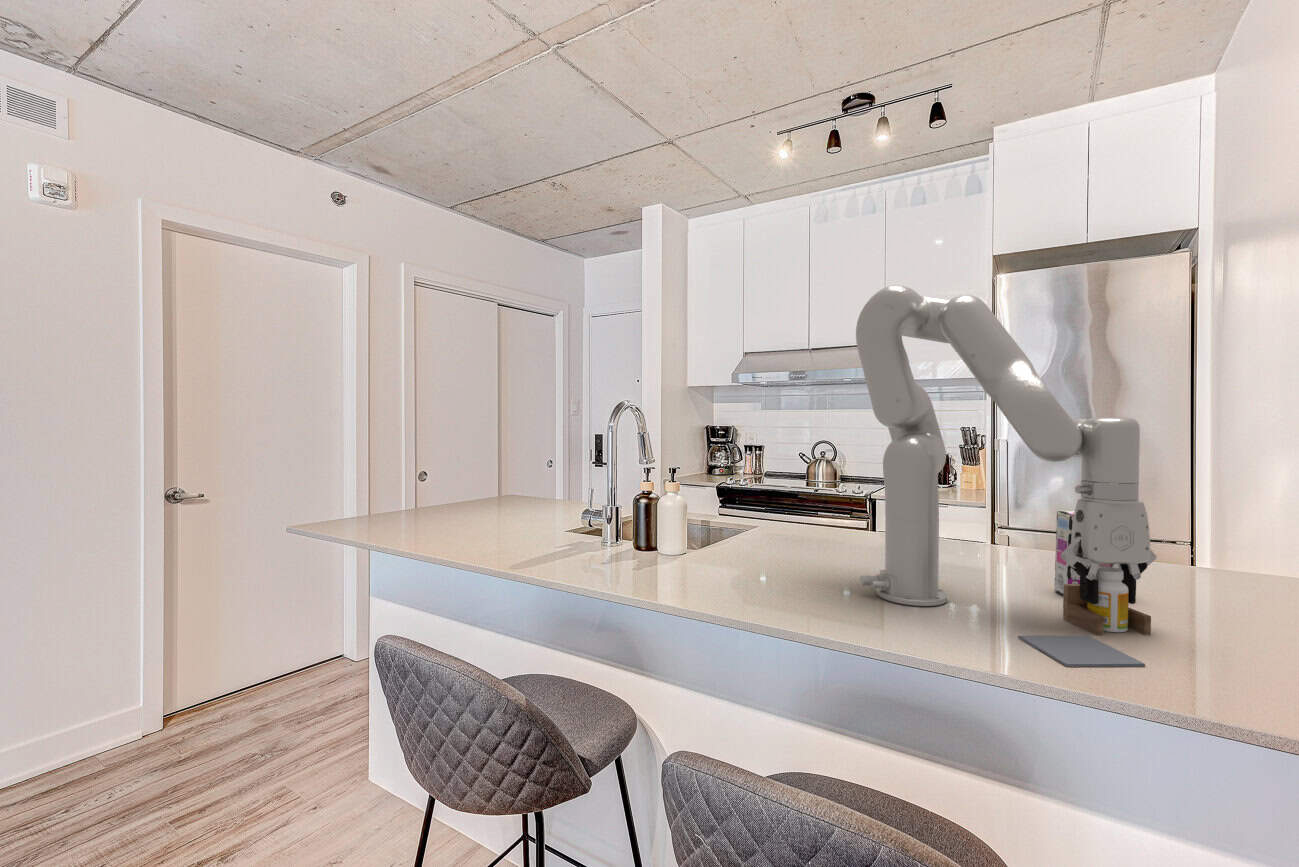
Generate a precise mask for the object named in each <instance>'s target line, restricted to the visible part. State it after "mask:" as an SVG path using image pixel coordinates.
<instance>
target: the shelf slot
mask: <svg viewBox="0 0 1299 867" xmlns="http://www.w3.org/2000/svg"><path fill="white" fill-rule="evenodd" d="M1062 597H1063V598H1062V599H1063V603H1062V609H1063V610H1062V619H1063V620H1065V621H1067V622H1069V623H1071V624H1073V625H1075V626H1077V627H1079V628H1082V629H1083V630H1084V631H1085V630H1086V631H1088V632H1089V633H1091V634H1093V635H1096V636H1104V631H1103V616H1101V615H1099V614H1097V613H1094V612H1092V611H1090V610H1087V601H1084V600H1082V599H1081V598H1080V584H1064V589H1063V595H1062ZM1151 625H1152V616H1151V615H1150V614H1147V613H1143V612H1141V611H1139V610H1136V609H1134V608H1131V607H1129V606H1128V629H1130V630H1132V631H1135V632H1137V633H1139V634H1141V635H1144V636H1151V634H1152V633H1151V630H1152V628H1151V627H1152V626H1151Z"/></svg>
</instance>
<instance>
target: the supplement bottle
mask: <svg viewBox="0 0 1299 867" xmlns="http://www.w3.org/2000/svg"><path fill="white" fill-rule="evenodd" d="M1123 578H1124V576H1123V570H1120V569H1117V568H1111V567H1098V570H1097V573H1096V575H1095V579H1096V580H1098V603H1097V604H1092V603H1089V602H1087V610H1090V611H1092V612H1094V613H1097V614H1099V615H1101V616H1103V632H1107V633H1108V632H1109V633H1124V632H1127V631H1128V629H1129V628H1128V607H1129V603H1128V587H1127V586H1126V585H1125V584H1124V583H1122V582H1121V581H1122V580H1123Z"/></svg>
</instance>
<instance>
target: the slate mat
mask: <svg viewBox="0 0 1299 867" xmlns="http://www.w3.org/2000/svg"><path fill="white" fill-rule="evenodd" d="M1017 638H1018V639H1019V640H1021V641H1023V642H1024V643H1025V644H1027V645H1029V646H1031V647H1032V648H1034V649H1035V650H1037V651H1039V652H1040V653H1042V654H1044V655H1046V656H1047V657H1049V658H1051V659H1053V660H1054V661H1055V662H1057V663H1059V664H1061V665H1062V666H1064V667H1065V668H1108V667H1109V668H1116V667H1117V668H1121V667H1122V668H1123V667H1124V668H1125V667H1126V668H1127V667H1128V668H1130V667H1132V668H1134V667H1137V668H1139V667H1140V668H1142V667H1143V668H1144V667H1146V663H1145V662H1143V661H1140V660H1139V659H1136V658H1134V657H1133V656H1130V655H1129V654H1126V653H1125V652H1122V651H1121V650H1119V649H1116V648H1115V647H1112V646H1111V645H1109V644H1106V643H1104V642H1102V641H1100V640H1099V639H1097V638H1094V637H1093V636H1090V635H1089V634H1060V635H1059V634H1056V635H1055V634H1052V635H1050V634H1039V635H1037V634H1033V635H1029V634H1027V635H1024V634H1022V635H1021V634H1020V635H1019V634H1018V636H1017Z"/></svg>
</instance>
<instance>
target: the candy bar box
mask: <svg viewBox="0 0 1299 867" xmlns="http://www.w3.org/2000/svg"><path fill="white" fill-rule="evenodd" d="M1074 512H1075V510H1063V509H1062V510H1060V509H1059V510H1056V531H1055V562H1054V563H1055V565H1054V592H1056V593H1057V594H1058V595H1061V596H1063V589H1064V584H1080V576H1079V575H1077V574H1076V572H1075V571H1074V570H1073V569H1072V568H1071V567H1070V565H1069V564H1067V563H1066V562H1065V561H1064V560H1063V559H1062V558H1061V554H1062V553H1063V552H1064V550H1065V549H1066V548H1067V547H1068V546H1069V545H1070V544H1071V537H1072V525H1073V518H1074ZM1076 559H1077V560H1078V561H1080V558H1079V557H1076ZM1088 566H1089V564H1088ZM1099 567H1111V568H1117V569H1119V566H1118V564H1099ZM1087 569H1088V567H1087ZM1094 579H1095V578H1094Z"/></svg>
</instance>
